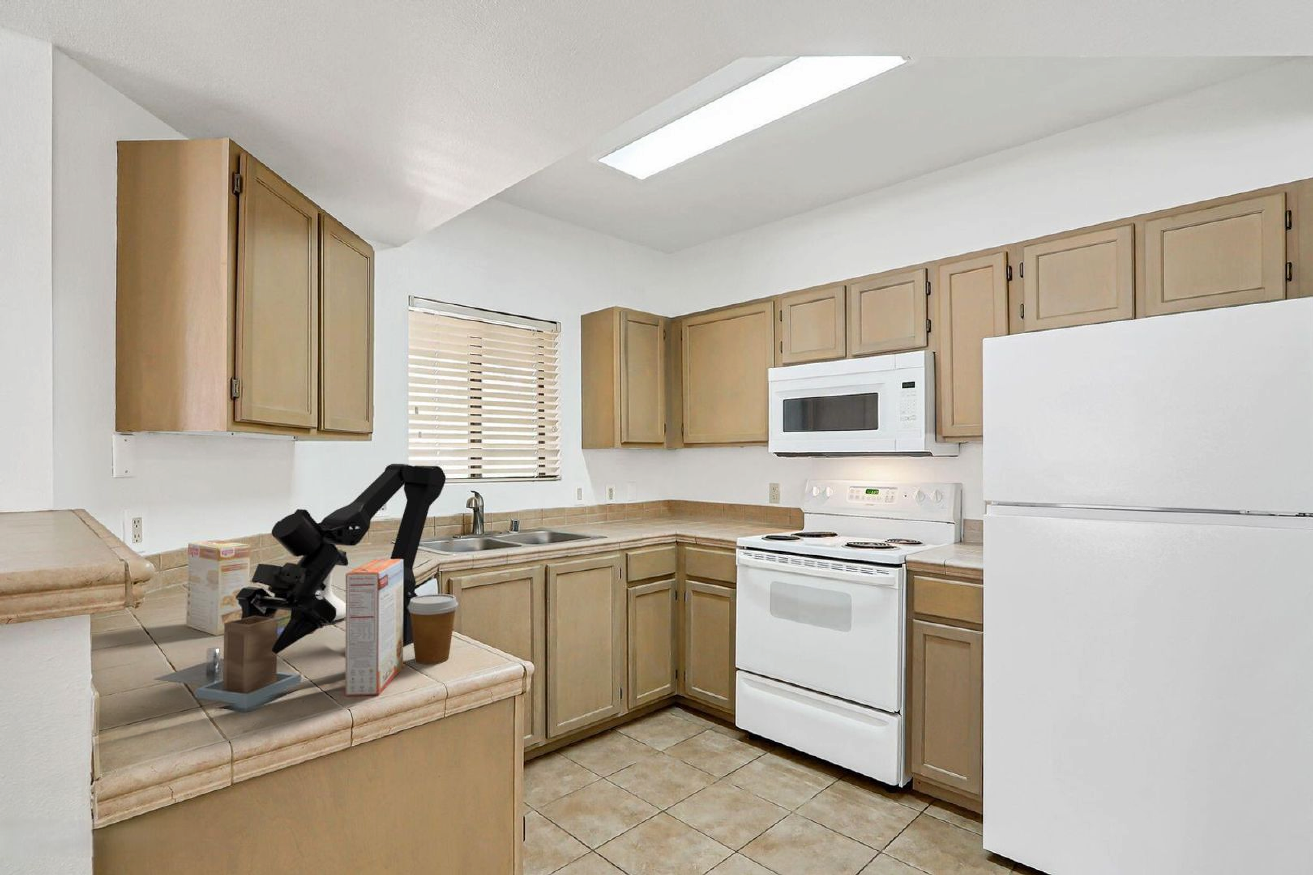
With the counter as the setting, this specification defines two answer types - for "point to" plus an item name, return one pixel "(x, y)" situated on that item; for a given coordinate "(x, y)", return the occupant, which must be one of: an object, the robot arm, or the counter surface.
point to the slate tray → (252, 699)
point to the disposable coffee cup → (432, 626)
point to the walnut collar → (249, 654)
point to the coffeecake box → (215, 583)
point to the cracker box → (373, 626)
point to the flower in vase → (334, 597)
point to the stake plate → (200, 671)
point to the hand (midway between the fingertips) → (254, 649)
